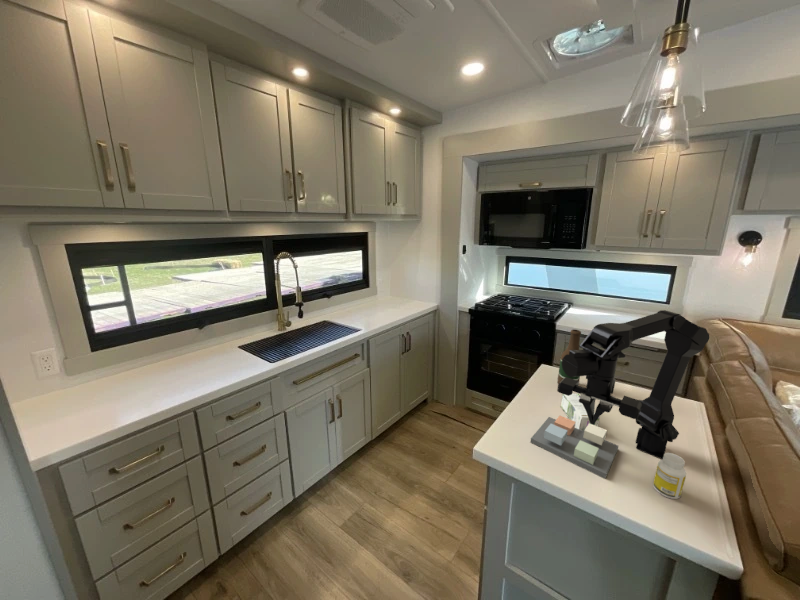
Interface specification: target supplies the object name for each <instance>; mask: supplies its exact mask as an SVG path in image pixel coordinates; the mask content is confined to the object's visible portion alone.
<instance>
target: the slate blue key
mask: <svg viewBox="0 0 800 600" xmlns="http://www.w3.org/2000/svg"><path fill="white" fill-rule="evenodd" d="M566 437H567V430H565V429H563V428H560V427H558V426H556V425H553V424H550V425H549V426H548V428H547V429H546V430H545V434H544V438H545V439H547V440H550V441H552V442H554V443H556V444H558V445H560V446H561V445H562V443H563V442H564V440H565V439H566Z"/></svg>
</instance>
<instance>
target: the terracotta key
mask: <svg viewBox="0 0 800 600" xmlns="http://www.w3.org/2000/svg"><path fill="white" fill-rule="evenodd" d="M555 420H556V421H555V422H554V425H556V426H558V427H560V428H563V429H565V430H567V435H569V436H570V435H571V433H572V432H573V430H574V429H575V428H576V427H575V423H576V422H575V421H572V420H570V419H569V418H567V417H565V416H562V415H559V416H558V417H557V418H556V419H555Z"/></svg>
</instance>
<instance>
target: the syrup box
mask: <svg viewBox="0 0 800 600" xmlns="http://www.w3.org/2000/svg"><path fill="white" fill-rule="evenodd" d="M561 395H562V396H561V399H560V408H561V409H562V411H563V412H564V414H565V415H566V416H567V417H568V418H567V419H570V420H572V421H575V422H576V423H575V428H577V429H580V430H582V431H584V430H585V429H586V427H587V426H588V424H589V423H590V421H589V418H588V415H587V412H586V410H585V408H584V406H583V404H582V403H580V402H579V399H580V397H581V395H580V393H574V392H573V393H572V394H571V395H569V396H568V395H565V394H562V393H561ZM594 414H595V411H594ZM599 422H600V417H599V418H598V419H597V421H596V422H595V424H594V425H595V426H597V427H599ZM592 425H593V424H592Z"/></svg>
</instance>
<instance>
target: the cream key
mask: <svg viewBox="0 0 800 600" xmlns="http://www.w3.org/2000/svg"><path fill="white" fill-rule="evenodd" d="M607 432H608V430H607V429H605V428H603V427H600V426H598V427H597V426H595V425H592V424H590V423H589V424H588V426H587V427H586V429H585V430H584V436H583V438H585V439H588V440H590V441H592V442H595V443H597V444H599V445H602V443H603V441H604V440H606V437H607Z"/></svg>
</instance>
